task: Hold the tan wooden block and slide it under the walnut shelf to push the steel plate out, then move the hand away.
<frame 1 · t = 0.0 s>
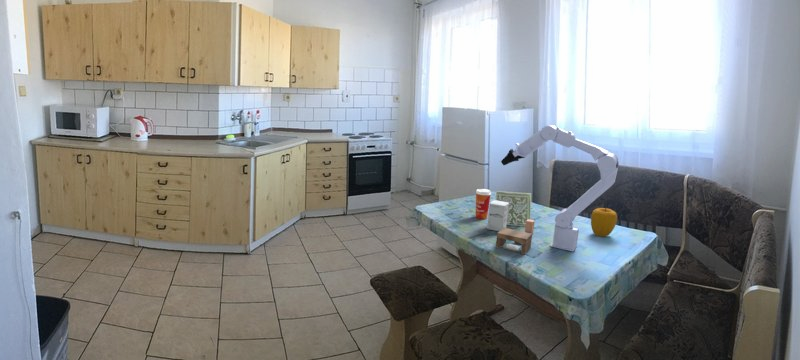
hand: (505, 162, 197), 32 cm above the table, tool tilted 50°, fingers open, 7 cm apart
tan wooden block: (528, 233, 205), on the table
paper cup: (481, 218, 224), on the table
supplement box: (496, 229, 209), on the table
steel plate: (512, 249, 185), on the table
apple: (601, 235, 206), on the table
walnut shelf: (513, 247, 186), on the table
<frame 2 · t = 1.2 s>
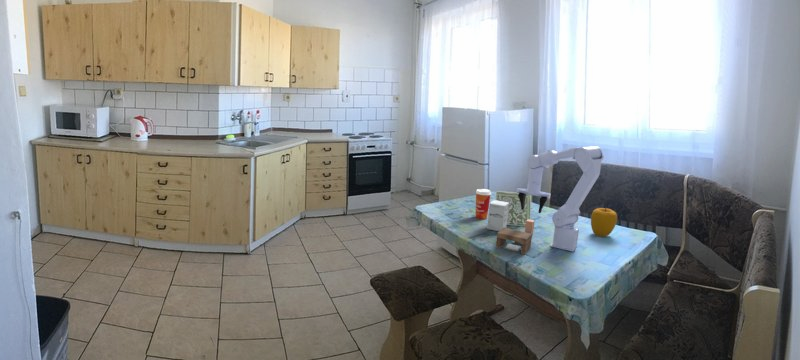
hand: (531, 210, 202), 10 cm above the table, tool pointing down, fingers open, 7 cm apart
nothing on the table moved.
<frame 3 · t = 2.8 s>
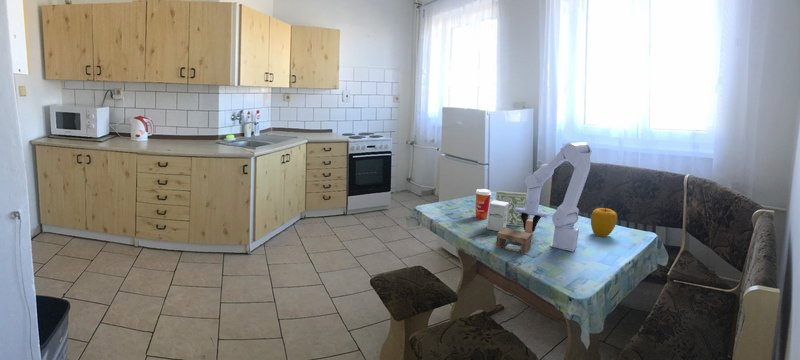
hand: (529, 230, 204), 1 cm above the table, tool pointing down, fingers closed on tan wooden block, 3 cm apart
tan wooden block: (528, 233, 205), on the table, touching gripper
everything else where it was.
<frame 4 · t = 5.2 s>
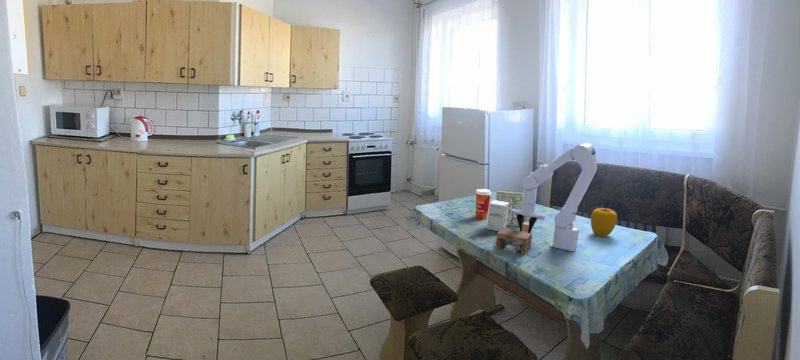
hand: (525, 232, 199), 2 cm above the table, tool pointing down, fingers closed on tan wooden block, 3 cm apart
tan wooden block: (525, 236, 200), on the table, touching gripper, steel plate
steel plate: (511, 250, 184), on the table, touching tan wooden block
everything else where it was.
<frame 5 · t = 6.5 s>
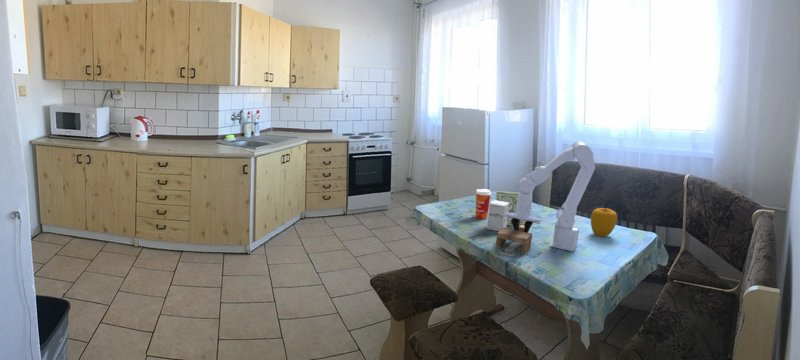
hand: (520, 236, 193), 2 cm above the table, tool pointing down, fingers closed on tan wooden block, 3 cm apart
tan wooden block: (522, 239, 196), on the table, touching gripper
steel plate: (507, 253, 180), on the table
everything else where it was.
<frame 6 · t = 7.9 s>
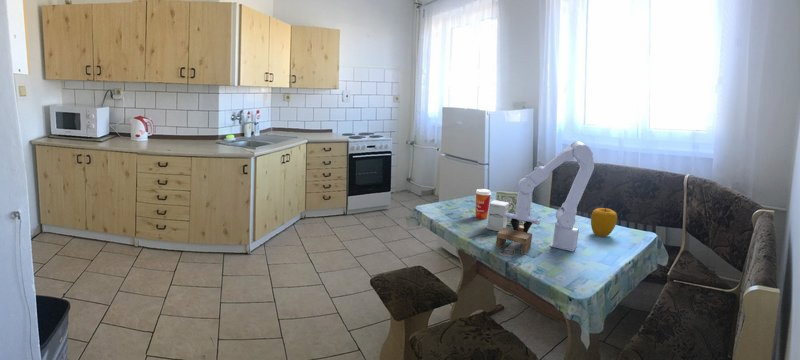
hand: (520, 237, 192), 2 cm above the table, tool pointing down, fingers closed on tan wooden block, 3 cm apart
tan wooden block: (521, 240, 195), on the table, touching gripper
when the fingers open (2 cm above the table, at t = 8.2 s): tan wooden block stays where it is, on the table.
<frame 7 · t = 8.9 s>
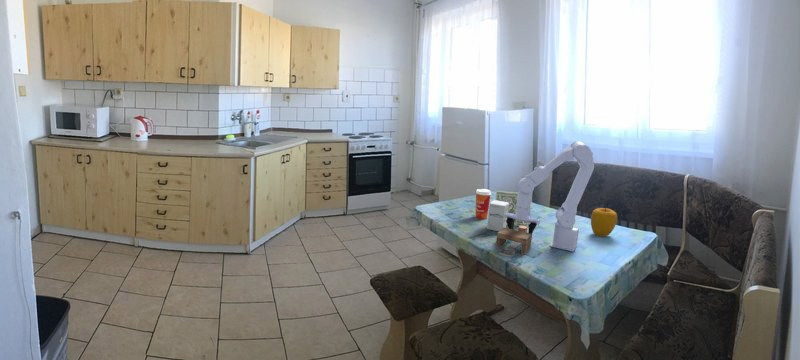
hand: (520, 237, 192), 2 cm above the table, tool pointing down, fingers open, 7 cm apart
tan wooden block: (521, 240, 195), on the table
everything else where it was.
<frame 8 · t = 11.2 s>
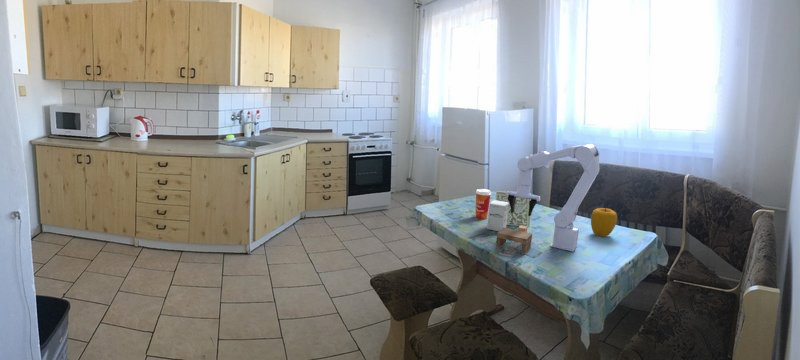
hand: (521, 213, 199), 10 cm above the table, tool pointing down, fingers open, 7 cm apart
nothing on the table moved.
at the end: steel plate inside the target area (3.2 cm from its centre), on the table; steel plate moved 7.2 cm from its start; the gripper is holding nothing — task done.
